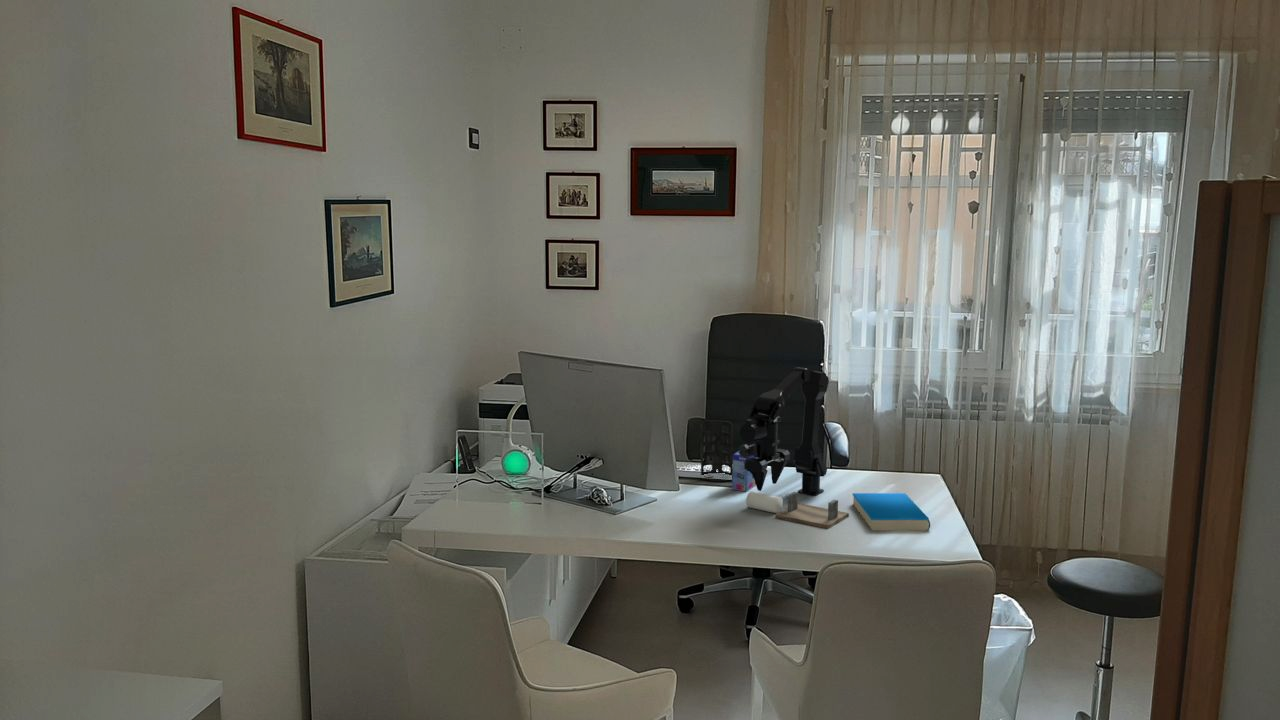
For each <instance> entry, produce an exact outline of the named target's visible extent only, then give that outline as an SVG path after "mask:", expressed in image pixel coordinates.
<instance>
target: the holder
mask: <svg viewBox="0 0 1280 720" xmlns="http://www.w3.org/2000/svg"><path fill="white" fill-rule="evenodd" d="M710 425H711V430H710V431H709V430H708V431H704V426H710ZM699 426H700V476H701V475H704V474H708V473H725V474H729V475H733V423H732V422H730V421H726V420H703V421H701V422H700V425H699ZM724 426H726V427H729V428H728V429H729V432H727V431H724V430H723V427H724ZM710 436H711V439H710ZM723 436H724V437H723ZM704 437H706V441H704ZM728 437H729V441H728ZM723 438H724V440H723ZM705 446H711V450H709V451H708V450H707V451H704V447H705ZM724 446H725V447H728V448H729V452H727V451H725V450H723V447H724ZM705 456H706V461H705V460H704V458H705ZM710 456H711V460H710ZM723 456H724V460H723ZM728 458H729V461H728ZM705 466H711V470H708V471H707V470H706V471H704V468H705ZM723 466H727V467H729V470H730V472H729V471H724V470H723ZM708 480H709V482H716V483H717V482H720V481H722V480H721V479H708ZM708 480H707V481H708Z"/></svg>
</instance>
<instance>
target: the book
mask: <svg viewBox="0 0 1280 720" xmlns="http://www.w3.org/2000/svg"><path fill="white" fill-rule="evenodd" d="M852 497H853V499H852V500H853V502H852V503H853V506H854V505H855V506H854V507H855V508H857V509H856V510H857V511H858V512H860V513H859V514H860V516H861V517H862V518H863V519H865V520H864V521H865V522H866V523H868V524H867V525H868V526H870V527H869V528H870V529H871V531H929V530H930V528H931V521H930V518H929V517H928V515H926V513H924V511H923V510H921V508H920V507H919V506H918V505H917V504H916V503H915V501H913V500H912V499H911V497H909V496H908V494H906V492H905V493H903V492H901V493H899V492H898V493H897V492H896V493H895V492H894V493H893V492H891V493H890V492H889V493H886V492H884V493H882V492H881V493H879V492H878V493H877V492H876V493H875V492H872V493H871V492H870V493H869V492H867V493H863V492H862V493H861V492H860V493H859V492H858V493H857V492H856V493H855V492H853V493H852Z"/></svg>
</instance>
